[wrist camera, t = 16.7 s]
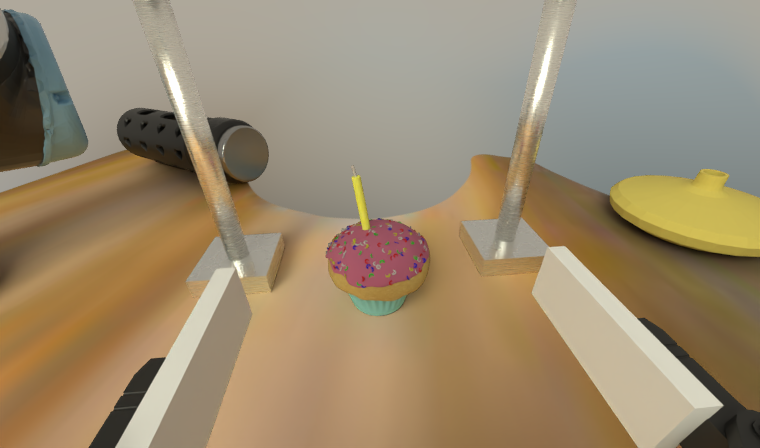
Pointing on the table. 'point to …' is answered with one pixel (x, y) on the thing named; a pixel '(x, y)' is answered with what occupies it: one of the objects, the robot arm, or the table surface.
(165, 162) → the muzzle brake
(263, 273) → the post
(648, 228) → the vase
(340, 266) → the cupcake
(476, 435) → the table surface
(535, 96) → the post
